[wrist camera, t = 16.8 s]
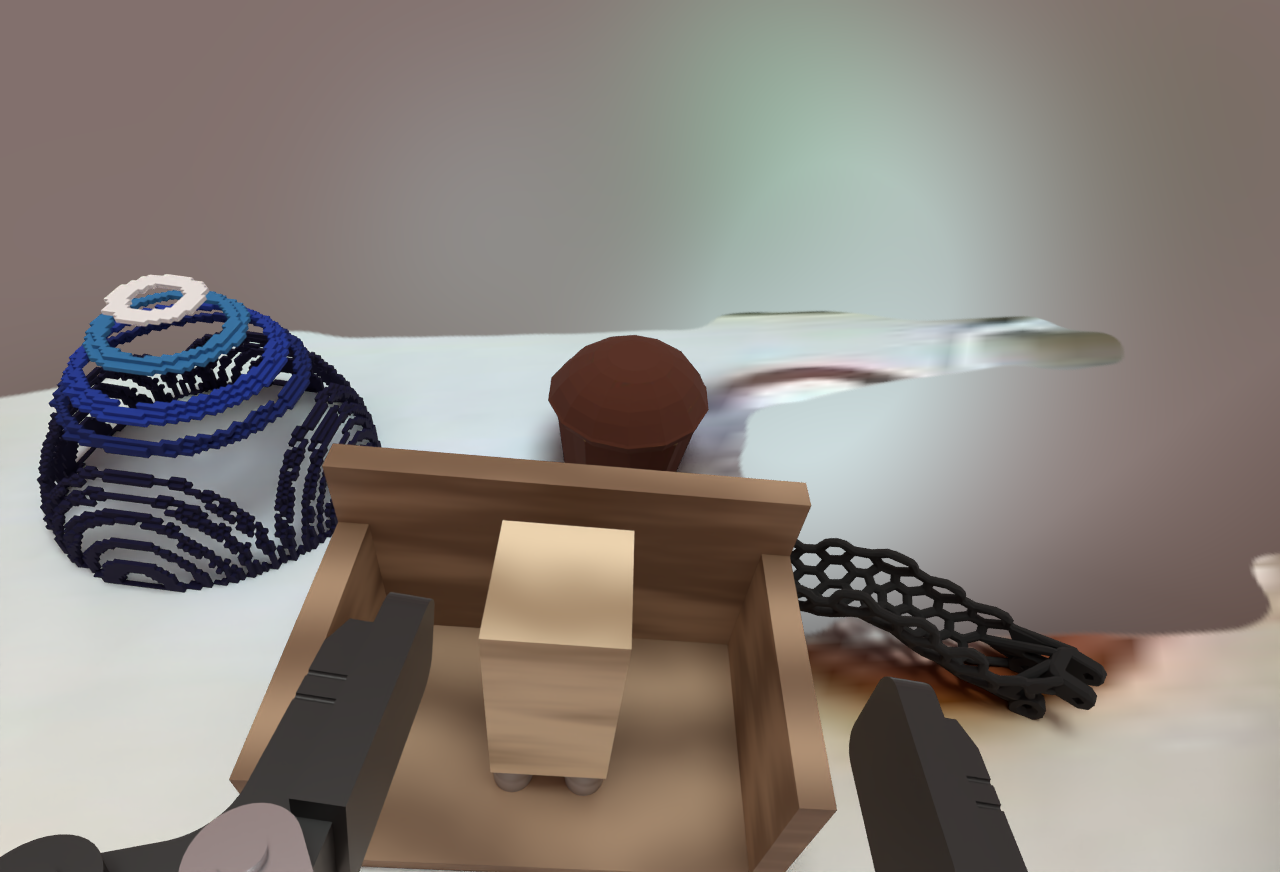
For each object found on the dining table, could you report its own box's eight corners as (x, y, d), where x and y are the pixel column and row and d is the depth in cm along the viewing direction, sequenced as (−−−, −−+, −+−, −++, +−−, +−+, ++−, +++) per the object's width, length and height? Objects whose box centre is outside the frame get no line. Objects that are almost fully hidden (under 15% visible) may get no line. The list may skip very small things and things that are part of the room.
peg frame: (376, 607, 42) (332, 443, 33) (745, 633, 44) (806, 482, 35) (291, 863, 32) (193, 732, 23) (775, 883, 34) (871, 769, 24)
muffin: (603, 538, 48) (616, 433, 42) (517, 445, 54) (516, 340, 47) (723, 470, 55) (751, 369, 48) (634, 393, 60) (648, 294, 54)
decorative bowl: (416, 400, 57) (393, 238, 47) (313, 609, 42) (249, 437, 32) (170, 367, 56) (96, 198, 47) (-20, 567, 42) (-187, 380, 32)
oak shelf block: (508, 665, 37) (502, 520, 29) (610, 672, 37) (634, 531, 29) (490, 772, 33) (478, 638, 25) (606, 778, 33) (631, 649, 25)
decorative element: (717, 608, 46) (735, 554, 41) (737, 551, 49) (755, 496, 45) (1074, 747, 41) (1134, 702, 37) (1068, 674, 45) (1122, 626, 41)
